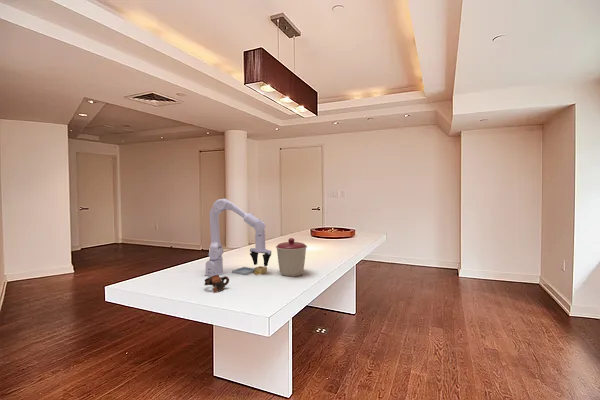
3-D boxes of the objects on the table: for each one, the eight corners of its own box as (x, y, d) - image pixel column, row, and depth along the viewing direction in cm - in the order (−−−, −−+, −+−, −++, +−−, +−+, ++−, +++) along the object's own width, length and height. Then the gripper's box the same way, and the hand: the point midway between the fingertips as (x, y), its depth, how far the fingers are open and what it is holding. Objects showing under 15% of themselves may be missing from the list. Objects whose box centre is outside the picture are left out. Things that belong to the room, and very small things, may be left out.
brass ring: (259, 275, 184) (259, 269, 184) (252, 273, 187) (252, 268, 187) (266, 272, 190) (266, 267, 190) (260, 271, 192) (259, 266, 192)
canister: (308, 270, 196) (308, 235, 195) (306, 279, 178) (305, 240, 177) (278, 270, 197) (278, 235, 196) (273, 278, 179) (272, 240, 179)
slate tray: (245, 276, 184) (245, 273, 184) (231, 273, 190) (231, 270, 190) (257, 272, 193) (257, 269, 193) (244, 269, 199) (244, 266, 199)
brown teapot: (208, 295, 154) (202, 278, 157) (208, 298, 163) (203, 282, 165) (232, 285, 159) (226, 269, 161) (231, 288, 167) (226, 273, 169)
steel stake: (261, 276, 184) (261, 270, 184) (251, 274, 188) (251, 268, 188) (269, 273, 190) (269, 267, 190) (259, 271, 194) (259, 266, 194)
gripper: (274, 242, 188) (274, 265, 188) (255, 240, 195) (255, 262, 196) (266, 244, 182) (267, 268, 182) (247, 241, 189) (247, 264, 190)
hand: (260, 265), depth 189 cm, fingers open, 7 cm apart
